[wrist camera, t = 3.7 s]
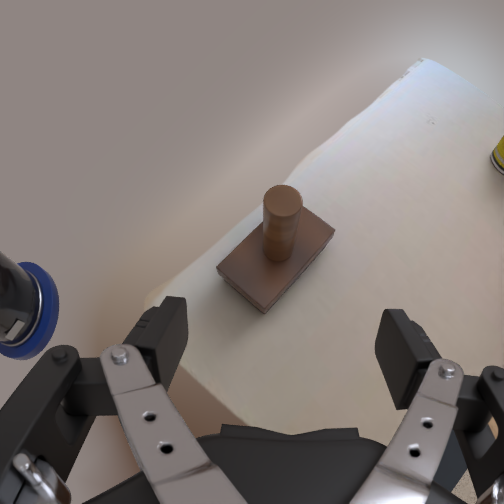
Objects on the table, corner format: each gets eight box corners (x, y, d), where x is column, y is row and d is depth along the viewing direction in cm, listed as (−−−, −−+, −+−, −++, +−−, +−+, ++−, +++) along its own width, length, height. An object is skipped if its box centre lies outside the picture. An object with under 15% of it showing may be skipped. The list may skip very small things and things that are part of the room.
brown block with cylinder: (263, 318, 28) (266, 276, 19) (219, 279, 29) (201, 223, 20) (329, 244, 31) (354, 180, 22) (286, 212, 32) (295, 142, 23)
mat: (445, 496, 19) (447, 497, 18) (408, 472, 21) (410, 473, 20) (496, 413, 22) (499, 413, 21) (465, 385, 24) (467, 385, 23)
